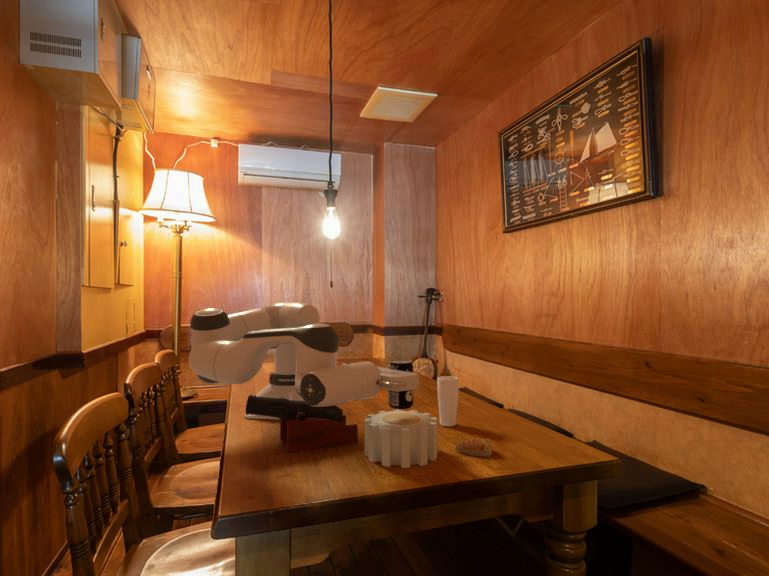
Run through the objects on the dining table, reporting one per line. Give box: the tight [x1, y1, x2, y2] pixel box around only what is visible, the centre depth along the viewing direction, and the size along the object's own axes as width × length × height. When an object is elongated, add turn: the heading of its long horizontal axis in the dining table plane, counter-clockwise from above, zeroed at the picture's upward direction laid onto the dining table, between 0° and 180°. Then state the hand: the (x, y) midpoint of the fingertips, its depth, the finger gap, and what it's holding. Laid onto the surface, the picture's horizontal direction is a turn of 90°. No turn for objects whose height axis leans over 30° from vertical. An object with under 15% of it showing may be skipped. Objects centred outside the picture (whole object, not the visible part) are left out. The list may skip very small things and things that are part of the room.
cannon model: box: [245, 394, 359, 454], centre depth 122 cm, size 13×30×15 cm, turn 114°
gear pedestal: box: [364, 409, 439, 469], centre depth 115 cm, size 19×19×9 cm
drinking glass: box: [436, 375, 460, 428], centre depth 140 cm, size 7×7×15 cm
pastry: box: [455, 437, 492, 458], centre depth 116 cm, size 9×7×4 cm
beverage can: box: [387, 358, 414, 410], centre depth 115 cm, size 7×7×12 cm
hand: (403, 373), depth 115 cm, fingers closed on beverage can, 7 cm apart
